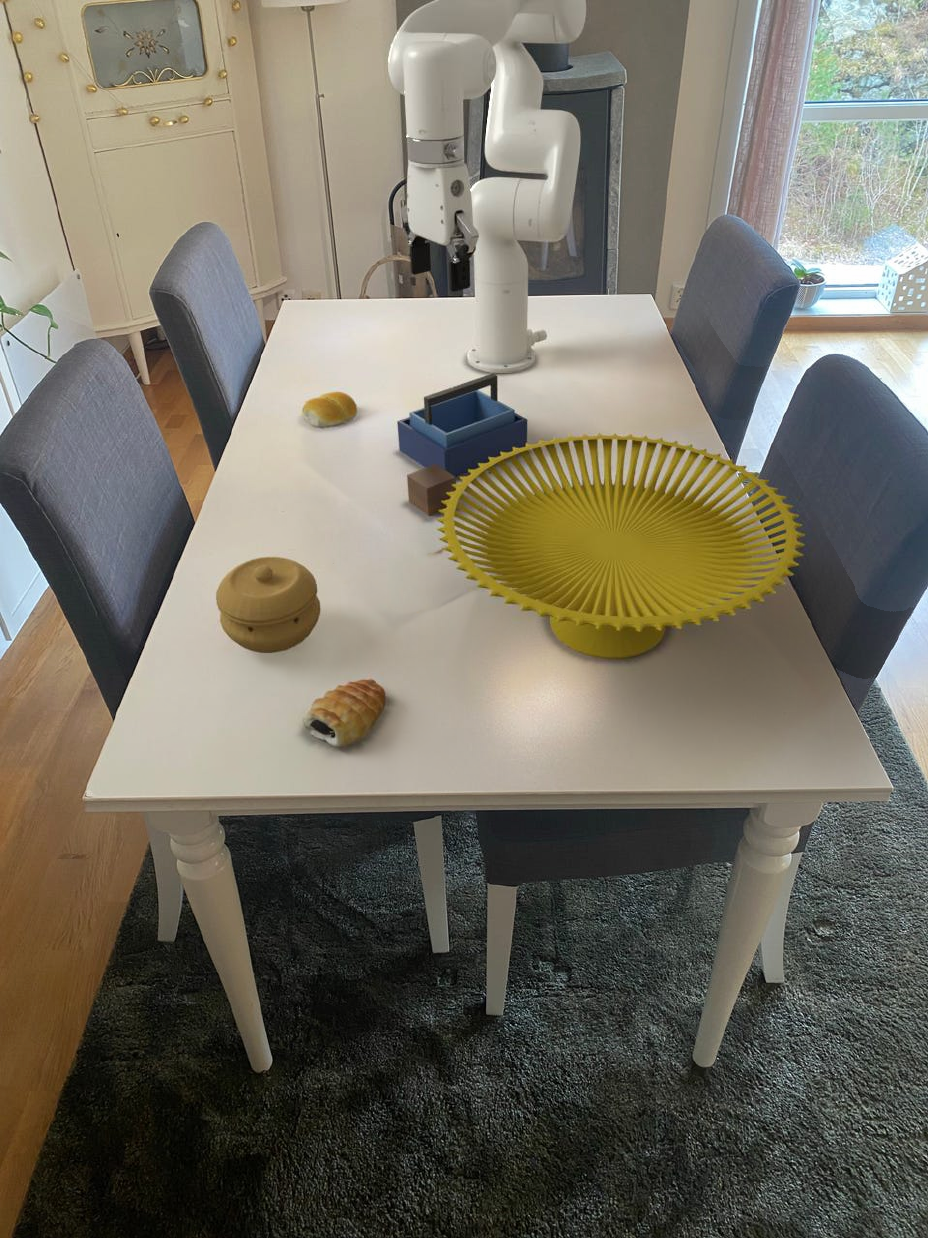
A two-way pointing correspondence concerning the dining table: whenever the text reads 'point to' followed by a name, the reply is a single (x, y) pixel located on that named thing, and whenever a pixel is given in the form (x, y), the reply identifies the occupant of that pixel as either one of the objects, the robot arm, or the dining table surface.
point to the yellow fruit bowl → (618, 543)
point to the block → (430, 488)
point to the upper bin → (462, 412)
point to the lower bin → (461, 446)
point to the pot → (268, 604)
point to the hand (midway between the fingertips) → (440, 280)
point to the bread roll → (329, 410)
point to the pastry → (346, 712)
